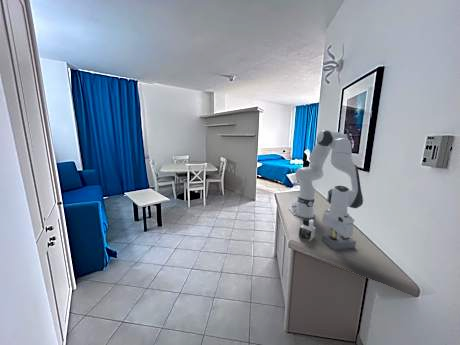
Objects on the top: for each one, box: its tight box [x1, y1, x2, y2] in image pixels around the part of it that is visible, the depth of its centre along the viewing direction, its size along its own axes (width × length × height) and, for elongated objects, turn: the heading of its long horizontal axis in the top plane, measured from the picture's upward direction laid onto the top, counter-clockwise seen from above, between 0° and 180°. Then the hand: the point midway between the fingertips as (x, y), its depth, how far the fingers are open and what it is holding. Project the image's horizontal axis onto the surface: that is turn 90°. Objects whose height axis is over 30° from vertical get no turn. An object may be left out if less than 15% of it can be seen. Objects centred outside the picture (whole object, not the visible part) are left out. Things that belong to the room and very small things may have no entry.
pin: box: [331, 229, 338, 240], centre depth 118 cm, size 3×3×8 cm
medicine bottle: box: [298, 217, 316, 242], centre depth 124 cm, size 7×7×12 cm
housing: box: [321, 233, 357, 251], centre depth 119 cm, size 14×10×4 cm
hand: (334, 237), depth 118 cm, fingers closed on pin, 3 cm apart
